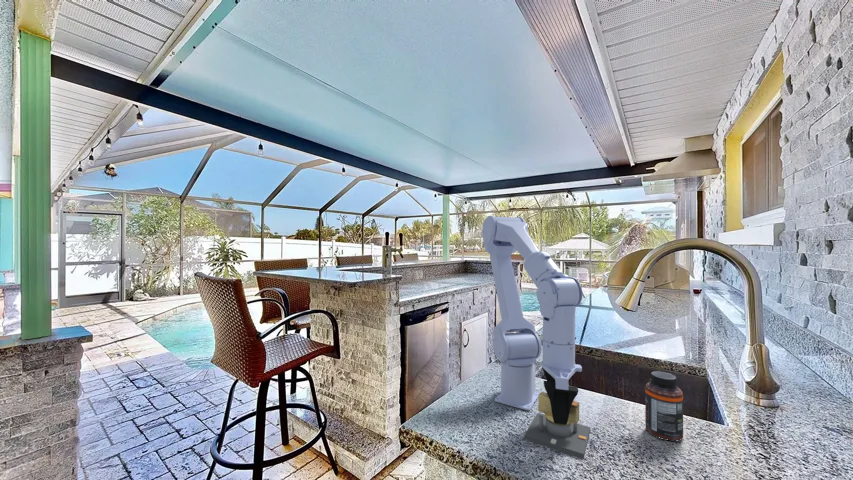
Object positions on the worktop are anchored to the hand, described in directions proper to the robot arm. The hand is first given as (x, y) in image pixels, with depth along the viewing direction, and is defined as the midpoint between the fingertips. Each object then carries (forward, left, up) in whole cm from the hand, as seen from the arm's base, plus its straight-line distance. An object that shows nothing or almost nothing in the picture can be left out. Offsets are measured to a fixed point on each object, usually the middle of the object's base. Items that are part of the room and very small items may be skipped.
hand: (558, 412), depth 63 cm
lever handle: (0, 0, -1) cm, 1 cm away
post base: (0, 0, -4) cm, 4 cm away
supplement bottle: (-12, +17, -4) cm, 21 cm away
